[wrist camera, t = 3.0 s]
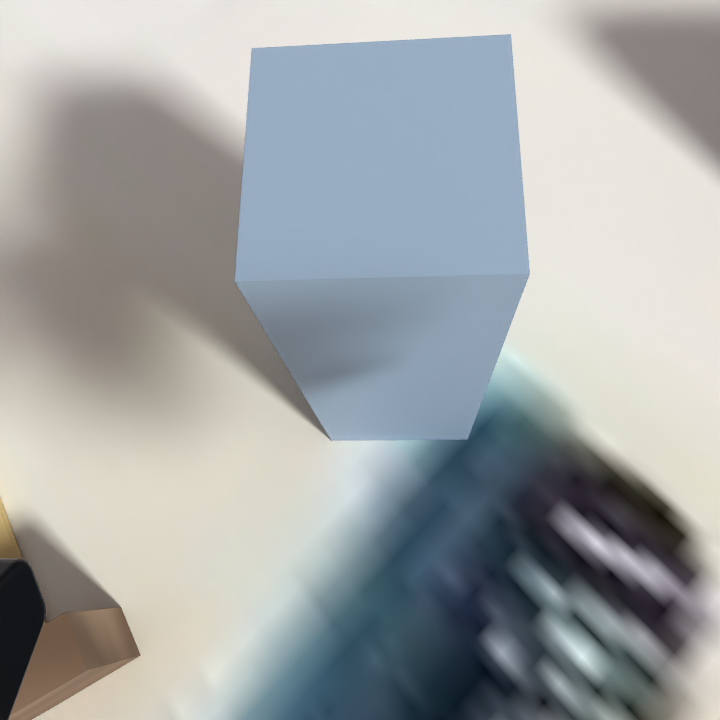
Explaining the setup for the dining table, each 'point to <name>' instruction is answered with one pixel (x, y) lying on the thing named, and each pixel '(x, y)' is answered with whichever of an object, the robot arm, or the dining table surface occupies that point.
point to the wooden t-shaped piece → (68, 649)
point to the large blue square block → (385, 227)
